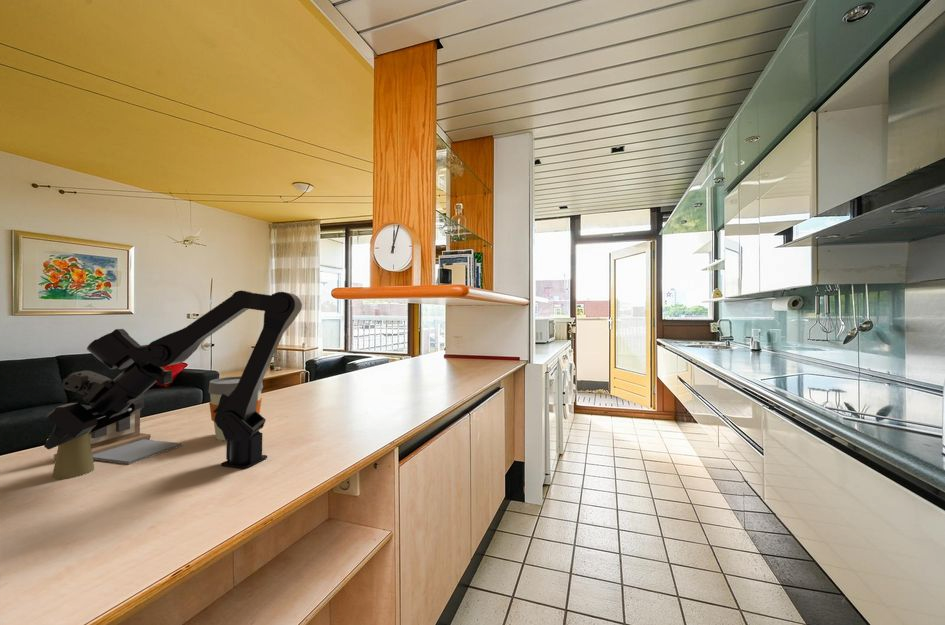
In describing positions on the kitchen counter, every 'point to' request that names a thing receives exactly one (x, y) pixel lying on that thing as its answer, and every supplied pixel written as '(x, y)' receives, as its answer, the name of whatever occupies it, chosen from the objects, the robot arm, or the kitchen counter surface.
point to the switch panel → (117, 434)
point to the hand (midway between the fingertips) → (66, 439)
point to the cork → (74, 458)
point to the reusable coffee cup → (221, 387)
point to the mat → (135, 451)
